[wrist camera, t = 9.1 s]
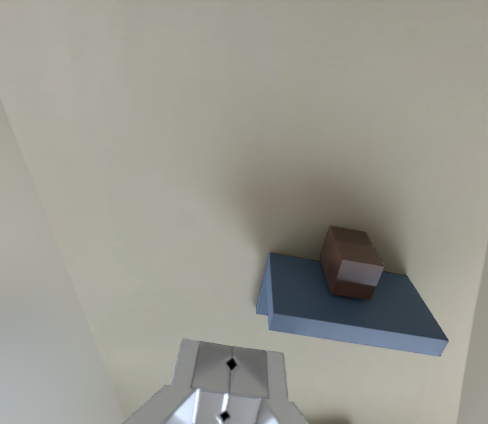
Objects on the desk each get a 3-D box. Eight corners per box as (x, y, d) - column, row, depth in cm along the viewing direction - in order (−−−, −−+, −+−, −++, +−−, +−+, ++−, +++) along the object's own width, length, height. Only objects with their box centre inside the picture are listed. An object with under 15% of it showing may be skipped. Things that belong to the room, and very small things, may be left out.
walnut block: (321, 233, 42) (345, 211, 35) (355, 238, 42) (385, 218, 35) (316, 298, 39) (340, 289, 32) (352, 304, 40) (384, 297, 33)
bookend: (269, 252, 41) (273, 313, 32) (407, 275, 42) (449, 340, 33) (255, 308, 44) (256, 377, 35) (384, 328, 45) (416, 401, 36)
